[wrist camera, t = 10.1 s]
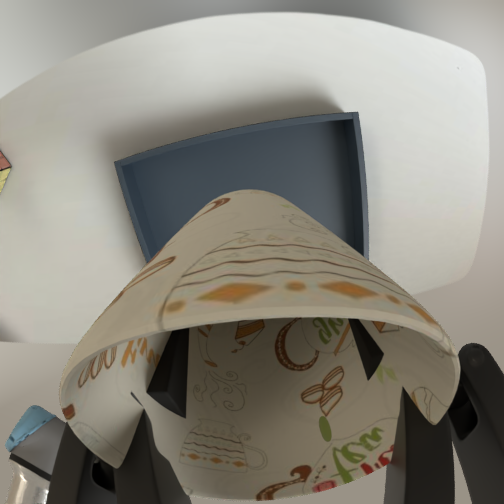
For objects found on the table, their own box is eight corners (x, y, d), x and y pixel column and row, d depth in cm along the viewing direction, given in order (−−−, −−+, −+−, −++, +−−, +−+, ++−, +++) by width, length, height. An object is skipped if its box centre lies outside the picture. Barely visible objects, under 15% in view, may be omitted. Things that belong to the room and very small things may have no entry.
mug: (253, 123, 11) (317, 110, 2) (395, 297, 15) (480, 430, 6) (131, 249, 13) (26, 420, 4) (290, 371, 17) (315, 511, 8)
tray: (170, 290, 30) (164, 307, 28) (126, 157, 24) (113, 162, 21) (358, 254, 29) (368, 268, 27) (345, 112, 23) (358, 111, 20)
